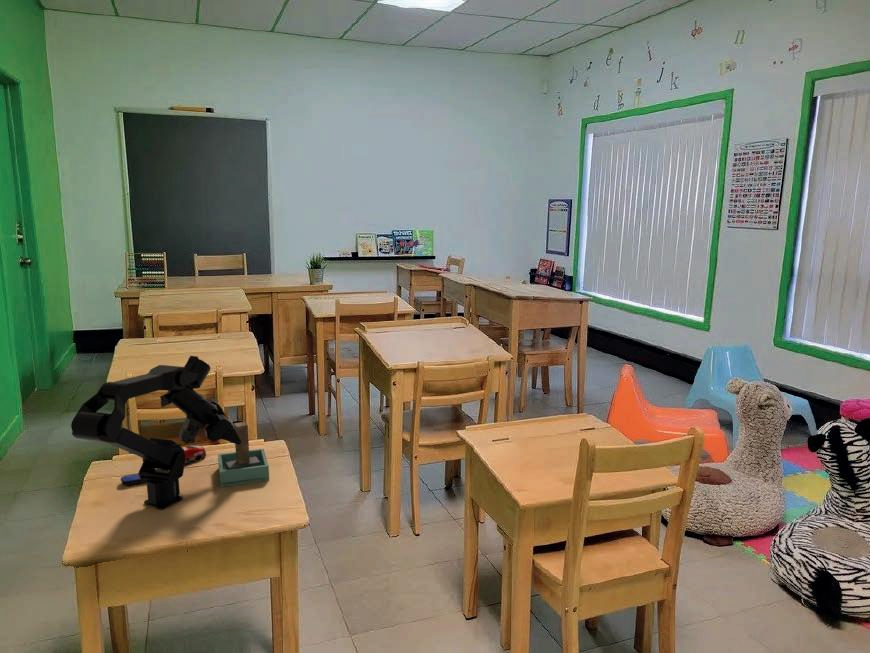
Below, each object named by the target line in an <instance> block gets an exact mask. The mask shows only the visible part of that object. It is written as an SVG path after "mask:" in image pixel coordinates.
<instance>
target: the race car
mask: <svg viewBox="0 0 870 653" xmlns="http://www.w3.org/2000/svg"><path fill="white" fill-rule="evenodd" d="M181 448H183V450H184V454H185V465H189V464H191V463H194V462H199V461H201V460H202V459H204V458H205V457H206V456H207V452H206V450H205V447H203V446H202V445H186V446H181ZM185 465H184V466H185Z"/></svg>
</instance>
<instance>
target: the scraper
mask: <svg viewBox="0 0 870 653" xmlns="http://www.w3.org/2000/svg"><path fill="white" fill-rule="evenodd" d="M248 426H249V425H248V423H247V422H246V421H240V422H237V423H234V424H233V427H234V429H235V431H236V433H237V434H238V436H239V438H240V440H241V441H242V443H241V444H240V445H237V444H234V445H235V452H236V460H235V461H230V462H226V470H232V469H239V468H247V467H254V466H260V461H259V460H258V458H257V457H250V458H249V450H250V445H249V444H250V443H249V428H248Z"/></svg>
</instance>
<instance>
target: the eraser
mask: <svg viewBox="0 0 870 653" xmlns="http://www.w3.org/2000/svg"><path fill="white" fill-rule="evenodd" d="M120 481H121V484H122V485H123V486H125V487H126V488H130V487H134V486H135V485H136V486H140V485H147V480H144V479H143V480H141V479H140V477H139V475H138V473H135V474H127V475H124V476H122V477H120Z"/></svg>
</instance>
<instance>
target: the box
mask: <svg viewBox="0 0 870 653" xmlns="http://www.w3.org/2000/svg"><path fill="white" fill-rule="evenodd" d="M250 457H257V458H258V460H259V461H260V466H254V467H247V468H239V469H232V470H226V462H230V461H235V460H236V451H233V452H226V453H219V454H217V459H218V460H217V462H218V463H217V464H218V473H219V481H220V482H219V483H220V487H221V488H223V487H229V486H237V485H243V484H244V485H245V484H251V483H259V482H264V481H265V482H266V481H270V471H269V470H270V466H269V462H268V460H267V455H266V452H265V448H258V449H251V450H250V449H249V458H250Z"/></svg>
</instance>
